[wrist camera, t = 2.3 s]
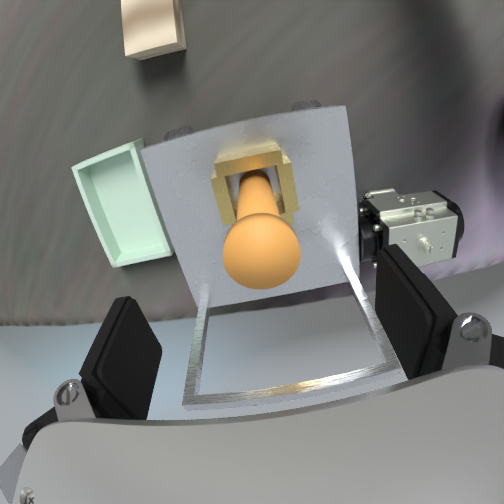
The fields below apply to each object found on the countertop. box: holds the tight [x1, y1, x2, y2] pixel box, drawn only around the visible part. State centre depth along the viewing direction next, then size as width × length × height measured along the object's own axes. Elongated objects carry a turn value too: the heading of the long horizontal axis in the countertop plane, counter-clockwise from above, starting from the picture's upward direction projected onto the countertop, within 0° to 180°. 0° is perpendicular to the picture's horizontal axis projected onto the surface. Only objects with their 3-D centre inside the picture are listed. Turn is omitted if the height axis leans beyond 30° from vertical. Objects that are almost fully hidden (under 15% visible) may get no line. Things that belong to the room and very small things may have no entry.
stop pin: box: [223, 170, 301, 290], centre depth 18 cm, size 3×3×11 cm
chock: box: [121, 0, 186, 60], centre depth 20 cm, size 8×5×4 cm, turn 6°
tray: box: [72, 138, 174, 268], centre depth 31 cm, size 13×8×3 cm, turn 12°
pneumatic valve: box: [358, 188, 464, 268], centre depth 27 cm, size 6×12×12 cm, turn 101°
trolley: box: [141, 100, 401, 411], centre depth 23 cm, size 17×16×21 cm
